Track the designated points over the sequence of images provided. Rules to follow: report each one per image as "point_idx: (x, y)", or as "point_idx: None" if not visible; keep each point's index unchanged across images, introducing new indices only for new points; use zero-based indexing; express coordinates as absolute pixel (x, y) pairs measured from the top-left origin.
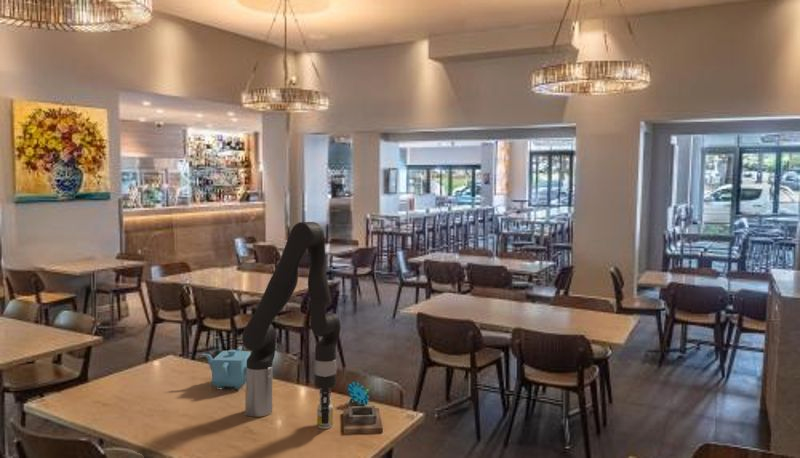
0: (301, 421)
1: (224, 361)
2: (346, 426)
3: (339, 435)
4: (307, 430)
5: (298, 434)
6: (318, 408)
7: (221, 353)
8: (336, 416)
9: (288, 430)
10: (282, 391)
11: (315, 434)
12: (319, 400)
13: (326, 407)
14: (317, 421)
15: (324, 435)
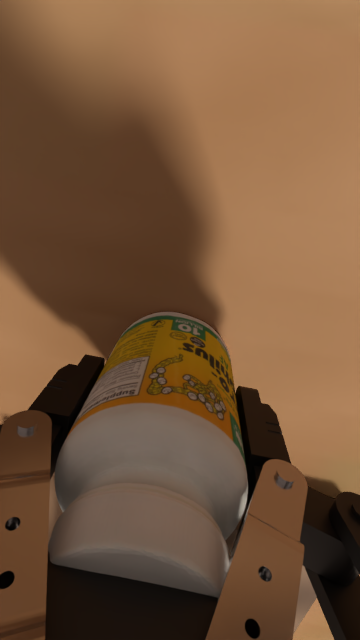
0: (336, 194)
1: None
2: (51, 479)
3: (4, 409)
4: (117, 219)
5: (43, 121)
6: (111, 413)
7: None
8: (315, 458)
9: (154, 15)
10: None
11: (31, 269)
12: (141, 522)
13: (62, 503)
14: (162, 326)
15: (9, 326)
